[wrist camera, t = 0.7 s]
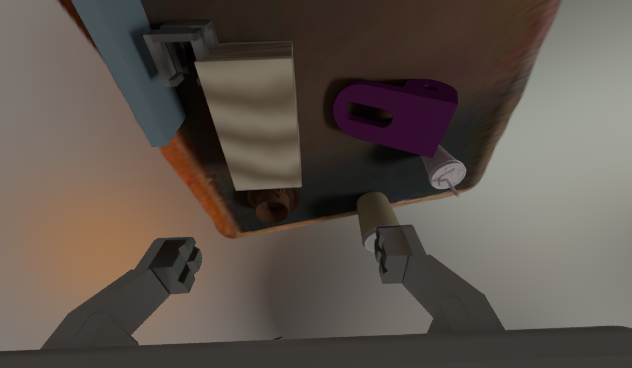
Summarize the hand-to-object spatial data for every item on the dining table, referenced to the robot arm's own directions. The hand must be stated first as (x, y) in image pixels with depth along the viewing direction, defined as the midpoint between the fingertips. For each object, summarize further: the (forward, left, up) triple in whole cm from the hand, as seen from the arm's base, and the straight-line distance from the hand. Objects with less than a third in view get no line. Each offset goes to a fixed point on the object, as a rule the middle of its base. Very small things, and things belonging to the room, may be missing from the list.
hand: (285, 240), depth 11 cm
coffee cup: (+37, +17, -36) cm, 55 cm away
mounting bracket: (+11, +16, -37) cm, 41 cm away
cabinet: (+9, -8, -36) cm, 38 cm away
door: (0, -21, -36) cm, 42 cm away
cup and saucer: (+32, -7, -37) cm, 49 cm away
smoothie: (+21, +27, -36) cm, 50 cm away
